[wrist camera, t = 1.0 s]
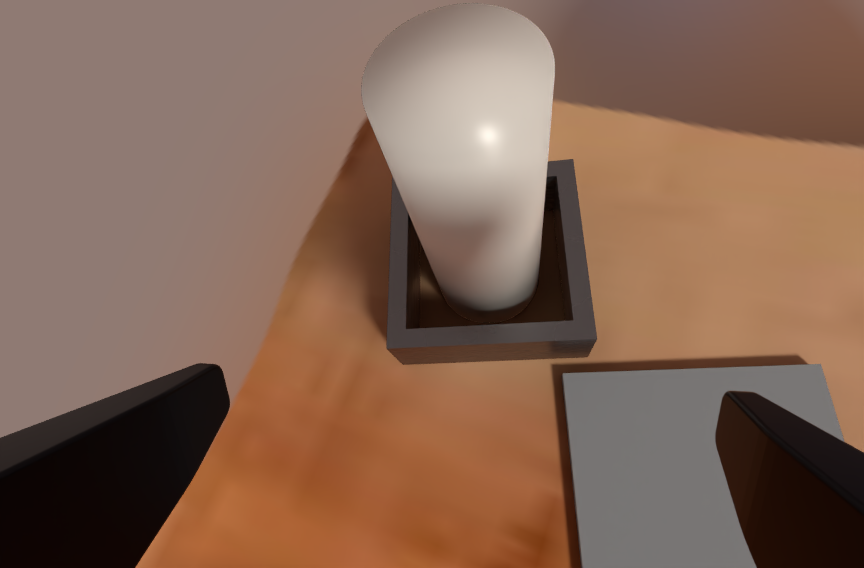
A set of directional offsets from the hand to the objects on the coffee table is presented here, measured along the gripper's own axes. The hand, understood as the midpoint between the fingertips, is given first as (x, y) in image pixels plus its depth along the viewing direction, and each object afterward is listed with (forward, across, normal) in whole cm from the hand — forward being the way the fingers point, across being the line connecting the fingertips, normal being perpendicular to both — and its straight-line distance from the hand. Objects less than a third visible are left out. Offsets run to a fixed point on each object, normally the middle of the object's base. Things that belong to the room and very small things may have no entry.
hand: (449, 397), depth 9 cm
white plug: (+15, 0, +4) cm, 16 cm away
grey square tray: (+15, 0, +4) cm, 16 cm away
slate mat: (+9, -8, +10) cm, 16 cm away
